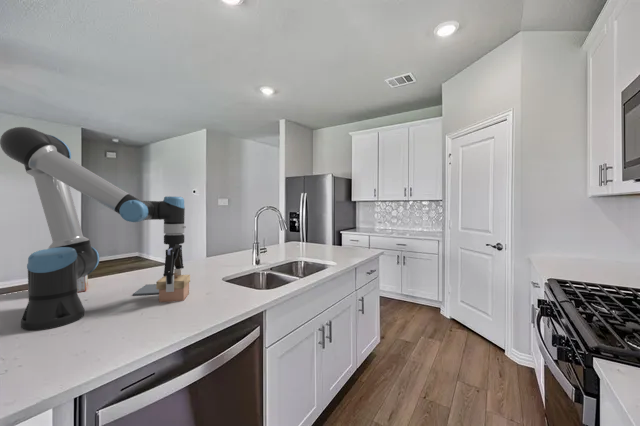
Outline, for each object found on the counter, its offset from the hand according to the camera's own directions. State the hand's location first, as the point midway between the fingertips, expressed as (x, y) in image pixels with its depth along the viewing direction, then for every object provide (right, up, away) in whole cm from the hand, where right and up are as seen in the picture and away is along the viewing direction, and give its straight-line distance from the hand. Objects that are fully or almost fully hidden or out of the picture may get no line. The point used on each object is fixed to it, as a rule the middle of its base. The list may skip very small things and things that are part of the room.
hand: (174, 287), depth 116 cm
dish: (0, -4, 0) cm, 4 cm away
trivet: (-13, -4, +11) cm, 17 cm away
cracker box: (-49, -4, +11) cm, 51 cm away
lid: (0, +1, 0) cm, 1 cm away
